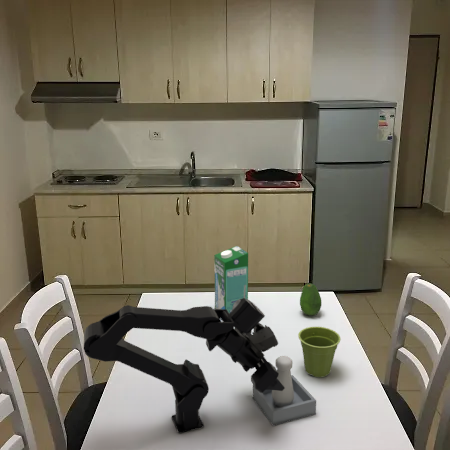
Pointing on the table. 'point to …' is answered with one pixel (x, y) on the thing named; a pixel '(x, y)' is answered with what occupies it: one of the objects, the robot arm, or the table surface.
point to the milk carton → (230, 277)
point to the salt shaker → (284, 382)
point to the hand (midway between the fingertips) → (276, 378)
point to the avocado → (310, 300)
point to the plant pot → (318, 349)
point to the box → (297, 409)
